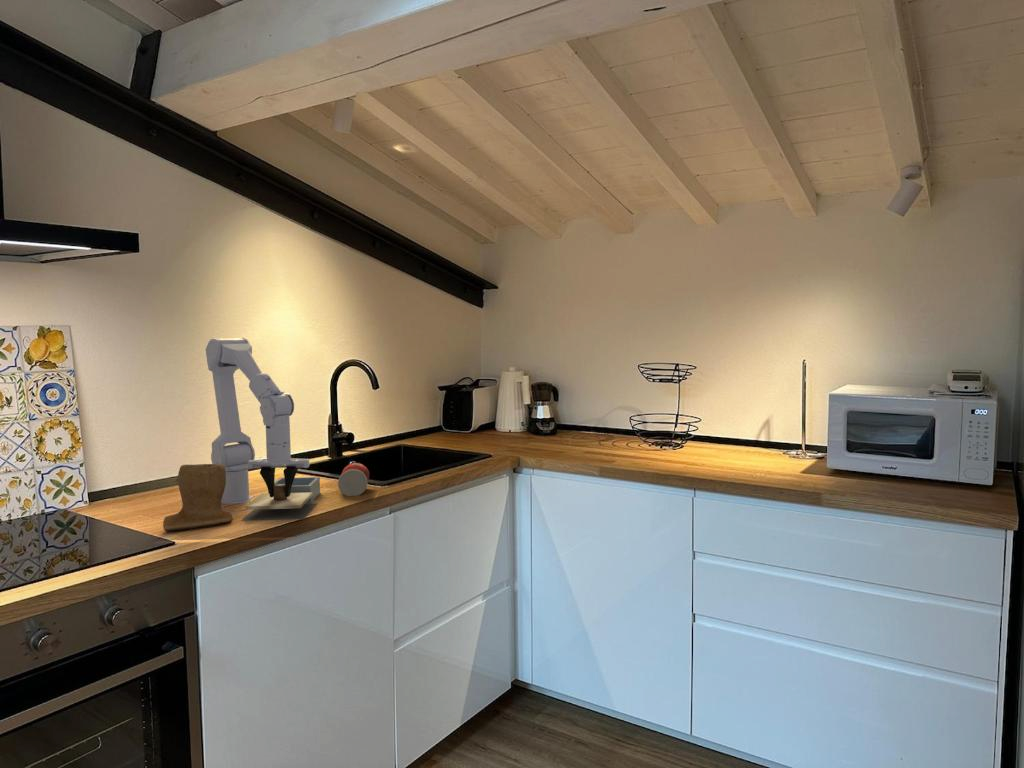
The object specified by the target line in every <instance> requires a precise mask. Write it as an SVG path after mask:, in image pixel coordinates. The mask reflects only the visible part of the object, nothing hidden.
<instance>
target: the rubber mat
mask: <svg viewBox="0 0 1024 768" xmlns="http://www.w3.org/2000/svg"><path fill="white" fill-rule="evenodd" d="M317 505H318V503H313V502H312V503H305V504H304V505H303V506H302V507H301V508H294V509H253V510H252V511H251V512H250V513H248V514H247V515H246V516H244V517H243V518H242V519H241V520H240V521H241V522H243V521H244V522H247V521H251V522H252V521H285V520H287V521H288V520H304V519H306V518H307V517H308V516H309V514H310V513H311V512H312V511H313V510H314V509H315V508H316V506H317Z"/></svg>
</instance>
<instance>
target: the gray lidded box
mask: <svg viewBox="0 0 1024 768" xmlns="http://www.w3.org/2000/svg"><path fill="white" fill-rule="evenodd" d="M274 483H275V485H276V484H285V478H284V477H279V478H278V479H275V480H274ZM306 492H313V496H312V497H311V498H310V499H309V500H308V501H307V502H306V503H305V504H312V503H313V501H314V500H316V498H317V497H318V496H319V495H320V494H321V479H320V476H311V477H310V476H307V477H294V480H293V483H292V487H291V493H306ZM267 493H269V491H268V490H267Z"/></svg>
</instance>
